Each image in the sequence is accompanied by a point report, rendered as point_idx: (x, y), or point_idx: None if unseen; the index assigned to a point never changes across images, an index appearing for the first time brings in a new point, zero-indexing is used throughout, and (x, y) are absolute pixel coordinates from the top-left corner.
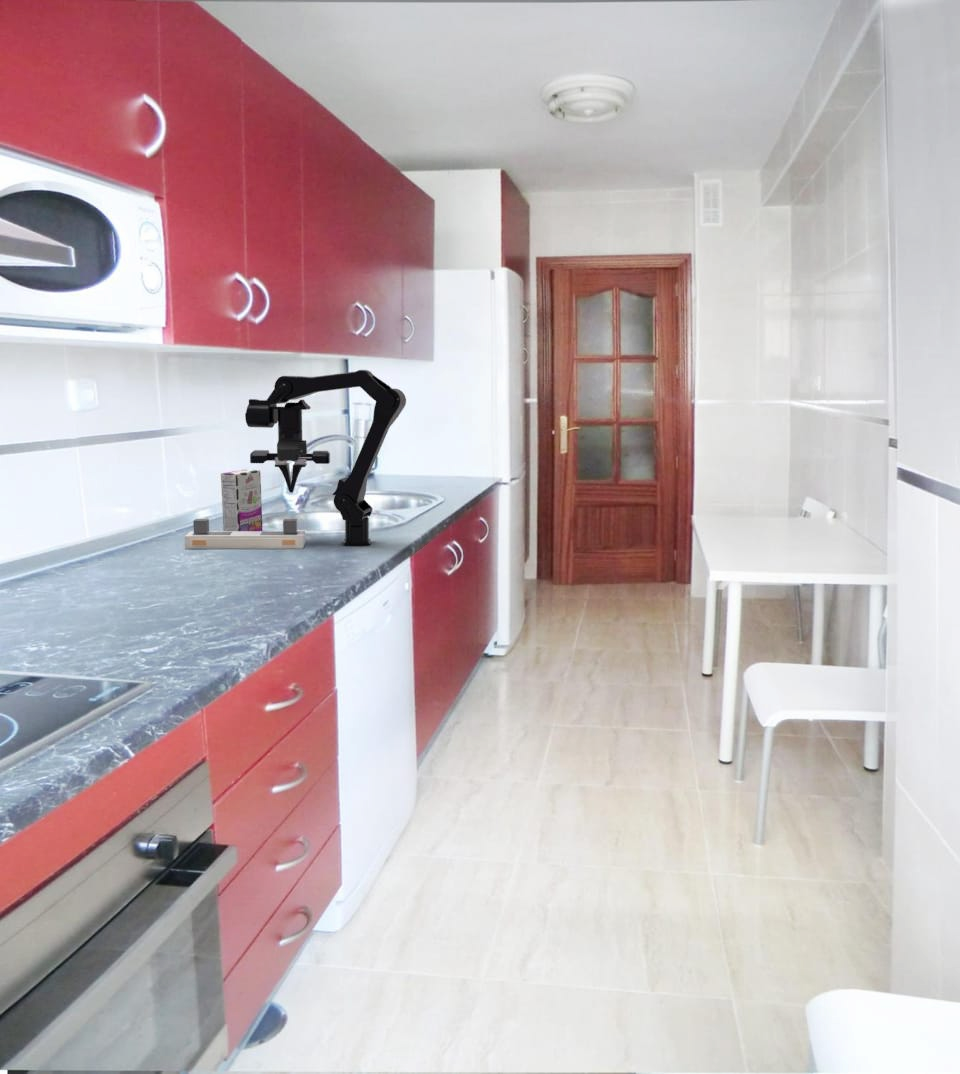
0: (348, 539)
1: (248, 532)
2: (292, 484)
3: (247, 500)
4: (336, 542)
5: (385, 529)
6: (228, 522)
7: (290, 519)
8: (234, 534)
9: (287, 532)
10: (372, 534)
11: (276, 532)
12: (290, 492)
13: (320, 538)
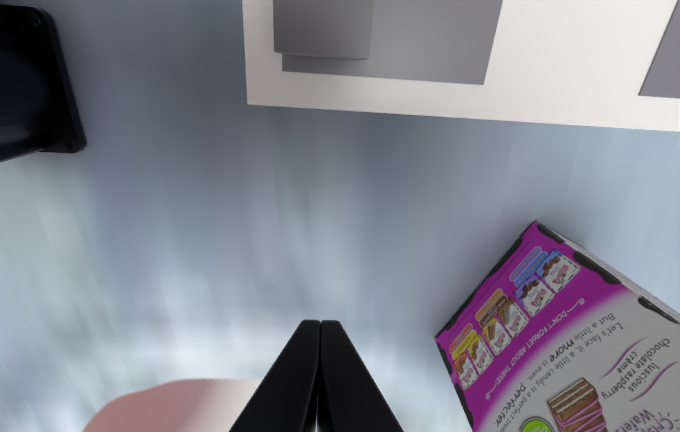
0: (8, 36)
1: (558, 77)
2: (295, 385)
3: (597, 396)
4: (117, 118)
5: (9, 382)
6: (621, 275)
7: (322, 22)
8: (652, 3)
9: None
10: (19, 297)
11: (407, 49)
12: (328, 322)
13: (211, 223)
